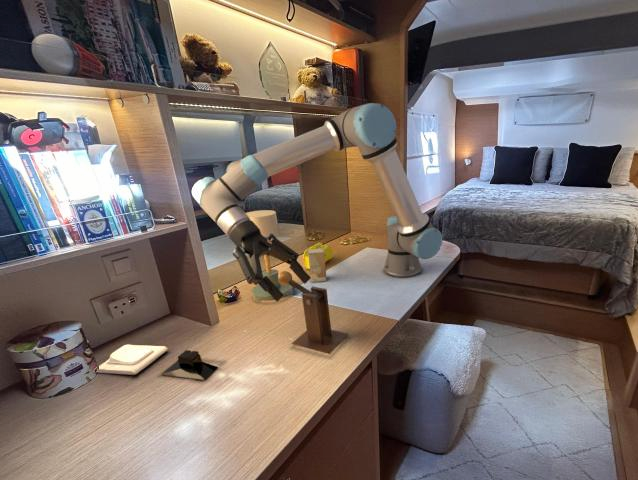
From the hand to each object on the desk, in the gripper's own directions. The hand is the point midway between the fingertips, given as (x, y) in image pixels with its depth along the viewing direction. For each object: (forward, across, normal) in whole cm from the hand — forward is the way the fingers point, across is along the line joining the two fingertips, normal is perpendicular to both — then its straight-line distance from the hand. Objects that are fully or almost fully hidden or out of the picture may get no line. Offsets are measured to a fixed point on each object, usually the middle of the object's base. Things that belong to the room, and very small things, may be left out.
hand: (294, 289), depth 90 cm
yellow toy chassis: (-10, -53, -32) cm, 63 cm away
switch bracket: (+15, 0, -6) cm, 17 cm away
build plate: (-1, +22, -24) cm, 32 cm away
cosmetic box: (-3, -38, -25) cm, 46 cm away
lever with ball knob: (+1, 0, 0) cm, 1 cm away
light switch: (-14, +26, -36) cm, 47 cm away
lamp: (-9, -20, -30) cm, 37 cm away
